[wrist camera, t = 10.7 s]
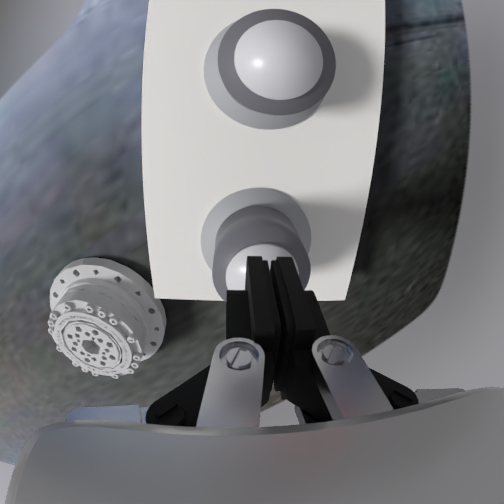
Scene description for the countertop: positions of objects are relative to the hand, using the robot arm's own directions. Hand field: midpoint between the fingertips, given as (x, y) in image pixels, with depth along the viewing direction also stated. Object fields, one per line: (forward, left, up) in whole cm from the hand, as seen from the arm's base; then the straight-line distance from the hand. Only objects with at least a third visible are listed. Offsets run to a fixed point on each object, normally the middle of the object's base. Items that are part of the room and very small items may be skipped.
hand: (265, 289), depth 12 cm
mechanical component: (+8, -11, -9) cm, 16 cm away
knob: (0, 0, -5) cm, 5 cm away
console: (-9, 0, -8) cm, 12 cm away
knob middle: (-9, 0, -5) cm, 10 cm away
